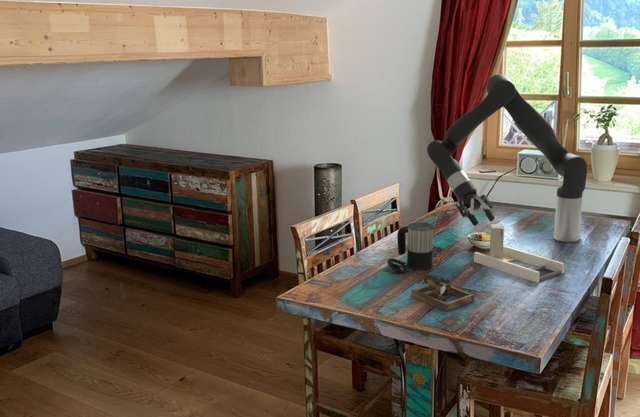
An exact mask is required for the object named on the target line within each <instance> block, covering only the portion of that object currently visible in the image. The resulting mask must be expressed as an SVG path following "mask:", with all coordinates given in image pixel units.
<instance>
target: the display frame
mask: <svg viewBox="0 0 640 417" xmlns="http://www.w3.org/2000/svg"><path fill="white" fill-rule="evenodd" d="M439 282H440V284H441V287H442V286H444V285H445V287H446V289H447V284H448V283H444V282H442V281H439ZM431 290H435V288H433V287H430V286H429V285H428V284H426V285H424V286H421V287H418V288H415V289H412V290H411V297H413V298H415V299H417V300H420V301H422V302H424V303H425V304H426V303H427V304H429V305H431V306H433V307H436V308H438V309H440V310H443V311H446V312H448V311H450V310H453V309H456V308H459V307H462V306H465V305H467V304H470V303H472V302H475V294H473V293H471V292H468V291H465V290H463V289H460V288H458V287H455V286H453V285H451V287H450V290H449V293H448V294H451V295H454V296H455V297H459V298H456V299H454V300H451V301H448V302H445V301H443V300H441V299H438V298H436V297H431V296H429V295H426V294H424V293H425V292H427V291H431Z"/></svg>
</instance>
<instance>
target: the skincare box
mask: <svg viewBox="0 0 640 417" xmlns="http://www.w3.org/2000/svg"><path fill="white" fill-rule="evenodd" d="M504 234H505V227H504V224H500V223H496V224H495V223H491V224H490V235H489V236H490V237H489V239H490V240H489V241H490V243H489V256H491V257H494V258H497V259H500V260H503V245H504V240H505V238H504V236H505V235H504Z"/></svg>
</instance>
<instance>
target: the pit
mask: <svg viewBox="0 0 640 417" xmlns="http://www.w3.org/2000/svg"><path fill="white" fill-rule="evenodd" d="M532 270H535V271H538V272H540V275H539V282H538V283H540V282H543V281H546V280H548V279H551V278H554V277H557V276H559V275H562V274H561V271H560V270H558V271H552V270H549V269H545V266H544V265H543V266H540V267H538V266H536V268H535V267H534V268H532Z"/></svg>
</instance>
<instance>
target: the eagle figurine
mask: <svg viewBox="0 0 640 417" xmlns="http://www.w3.org/2000/svg"><path fill="white" fill-rule="evenodd" d="M423 281H424V283H425V284H426V285H429V286H430V287H433V288H435V290H431V291H427V292H425V293H424V294H426V295H429V296H431V297H433V298H435V297H436V296H438V295H441V296H444V298H445V299H446V300H448V296H449V294H450V293H449V290H450V287H451V286H453V285H452V283H453V281H451V282H450V283H446V284H447V289H446V287H445V285H444V286H442V287H441V284H440V282H441V281H439V280H437V279H435V278H434V276H432V275H430V274H428V275H427V274H426V275H424V277H423Z"/></svg>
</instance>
